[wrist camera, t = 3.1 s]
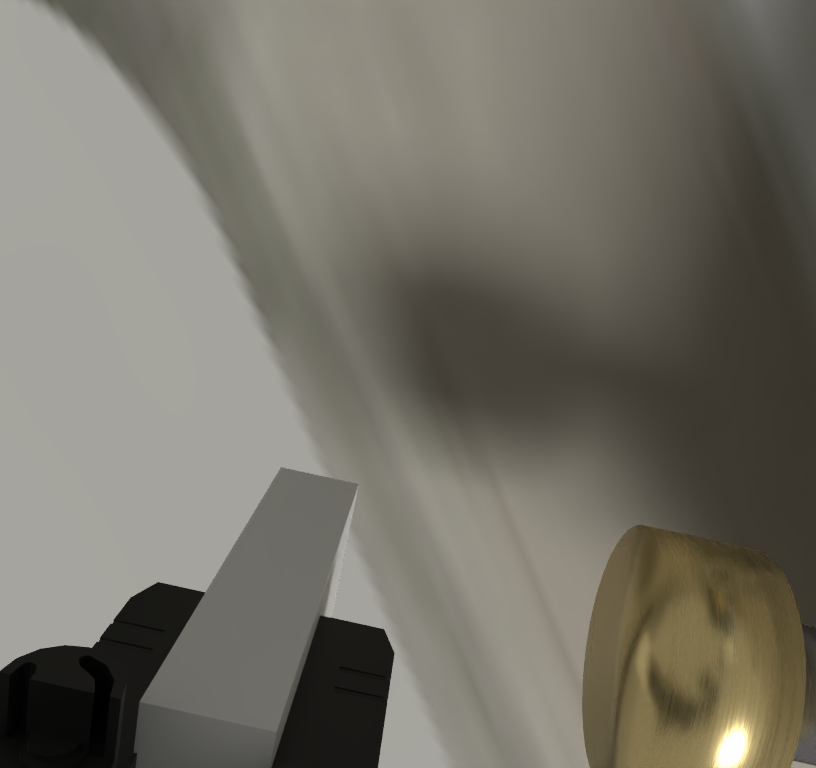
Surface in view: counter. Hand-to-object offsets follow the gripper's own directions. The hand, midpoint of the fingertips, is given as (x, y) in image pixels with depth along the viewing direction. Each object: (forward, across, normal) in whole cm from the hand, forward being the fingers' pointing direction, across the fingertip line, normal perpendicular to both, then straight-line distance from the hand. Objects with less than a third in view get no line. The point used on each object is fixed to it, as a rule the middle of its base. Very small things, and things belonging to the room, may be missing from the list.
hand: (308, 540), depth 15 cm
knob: (+1, +10, 0) cm, 10 cm away
